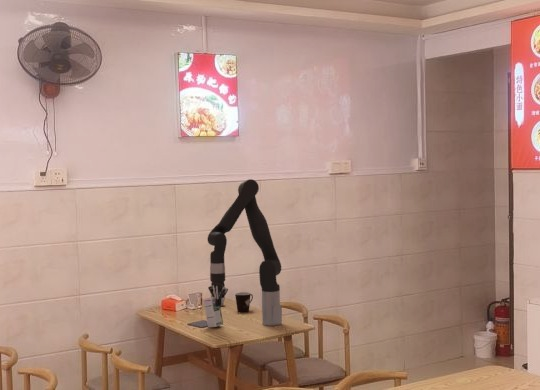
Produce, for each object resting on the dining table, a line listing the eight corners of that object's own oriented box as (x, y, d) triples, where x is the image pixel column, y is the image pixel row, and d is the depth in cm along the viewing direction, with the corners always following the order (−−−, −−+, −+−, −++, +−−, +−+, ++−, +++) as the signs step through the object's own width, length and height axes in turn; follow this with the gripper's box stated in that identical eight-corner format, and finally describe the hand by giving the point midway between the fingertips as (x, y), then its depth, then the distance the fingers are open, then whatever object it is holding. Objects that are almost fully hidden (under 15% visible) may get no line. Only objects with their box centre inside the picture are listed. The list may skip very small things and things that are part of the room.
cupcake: (211, 304, 414) (210, 287, 414) (226, 304, 413) (226, 287, 413) (208, 307, 405) (207, 290, 405) (224, 307, 404) (223, 290, 404)
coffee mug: (238, 313, 386) (238, 295, 386) (233, 310, 394) (232, 293, 394) (258, 311, 391) (257, 293, 390) (252, 308, 399) (252, 291, 398)
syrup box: (216, 326, 350) (211, 298, 351) (207, 327, 354) (202, 299, 355) (223, 324, 355) (218, 296, 356) (215, 325, 358) (210, 297, 359)
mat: (218, 324, 361) (218, 323, 361) (202, 327, 353) (202, 326, 353) (203, 320, 369) (203, 320, 369) (187, 324, 361) (187, 323, 361)
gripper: (232, 272, 349) (232, 306, 350) (214, 269, 358) (215, 303, 359) (220, 273, 344) (221, 309, 344) (203, 271, 353) (204, 305, 353)
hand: (218, 306), depth 352 cm, fingers closed
